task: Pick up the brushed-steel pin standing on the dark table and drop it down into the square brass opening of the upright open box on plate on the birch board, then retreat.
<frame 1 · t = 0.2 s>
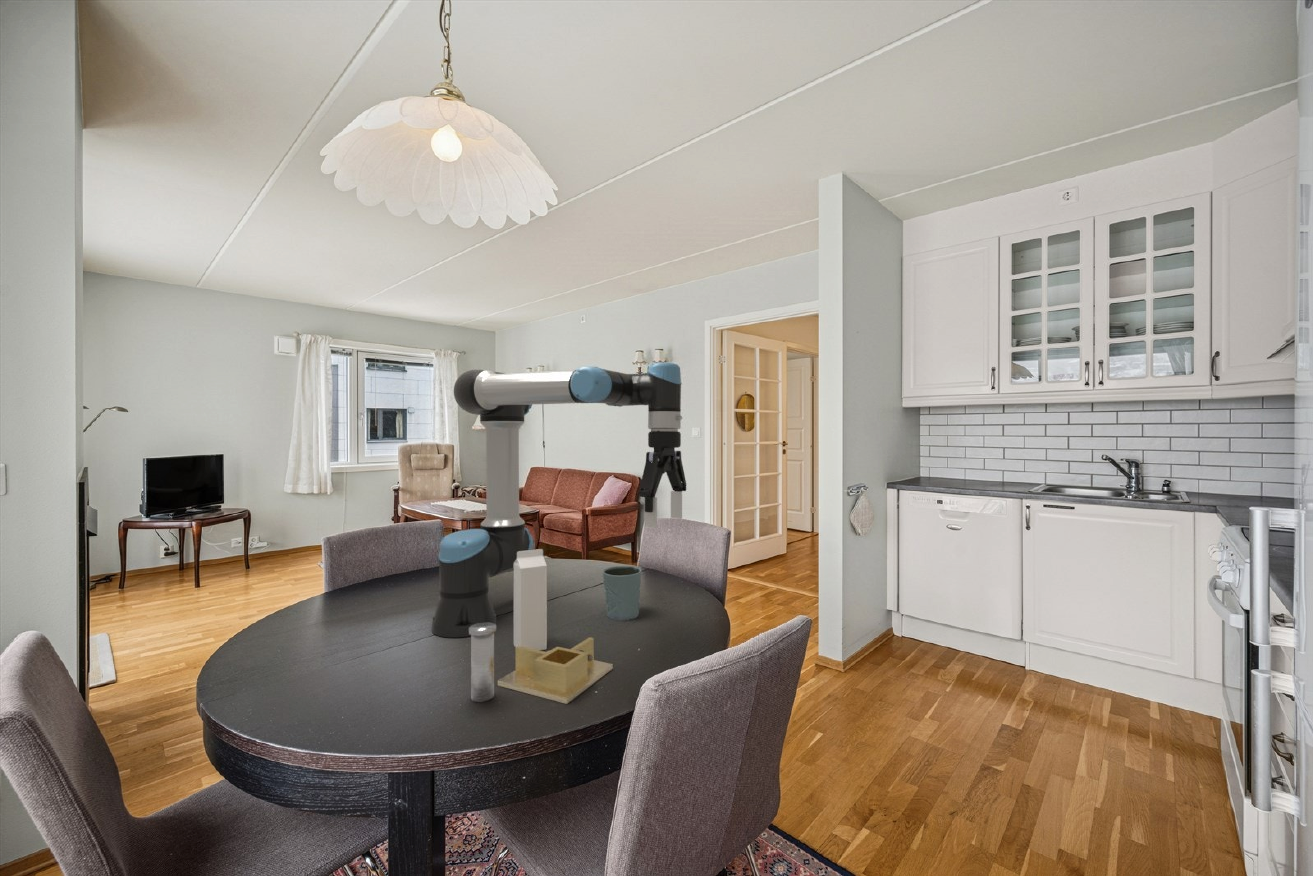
hand: (664, 522, 124), 28 cm above the table, fingers open, 13 cm apart
open box on plate: (561, 688, 102), on the table
pin: (482, 696, 99), on the table
teal cup: (622, 616, 143), on the table
milk: (530, 648, 122), on the table
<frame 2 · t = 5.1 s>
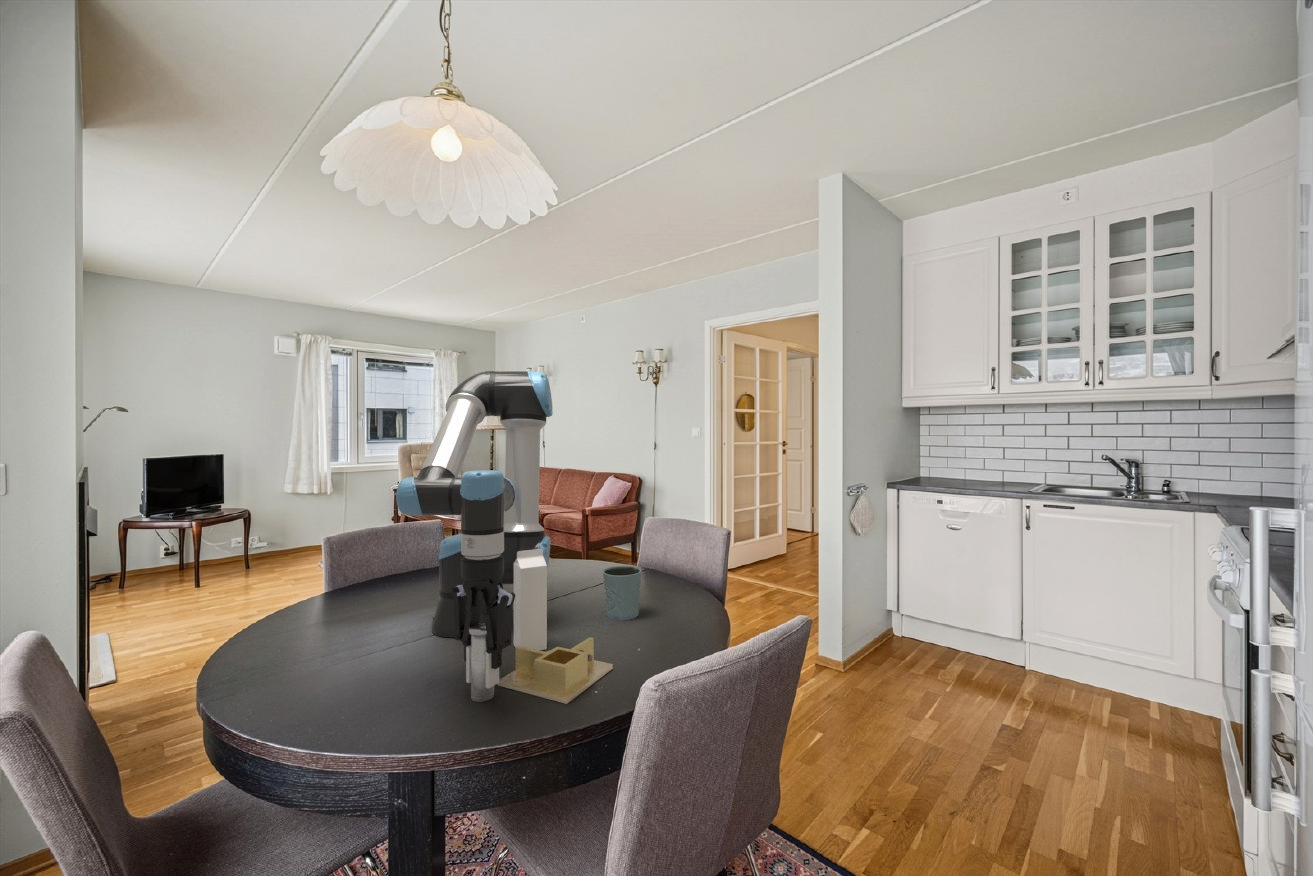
hand: (482, 682, 99), 3 cm above the table, fingers closed on pin, 4 cm apart
pin: (482, 696, 99), on the table, touching gripper
everything else where it was.
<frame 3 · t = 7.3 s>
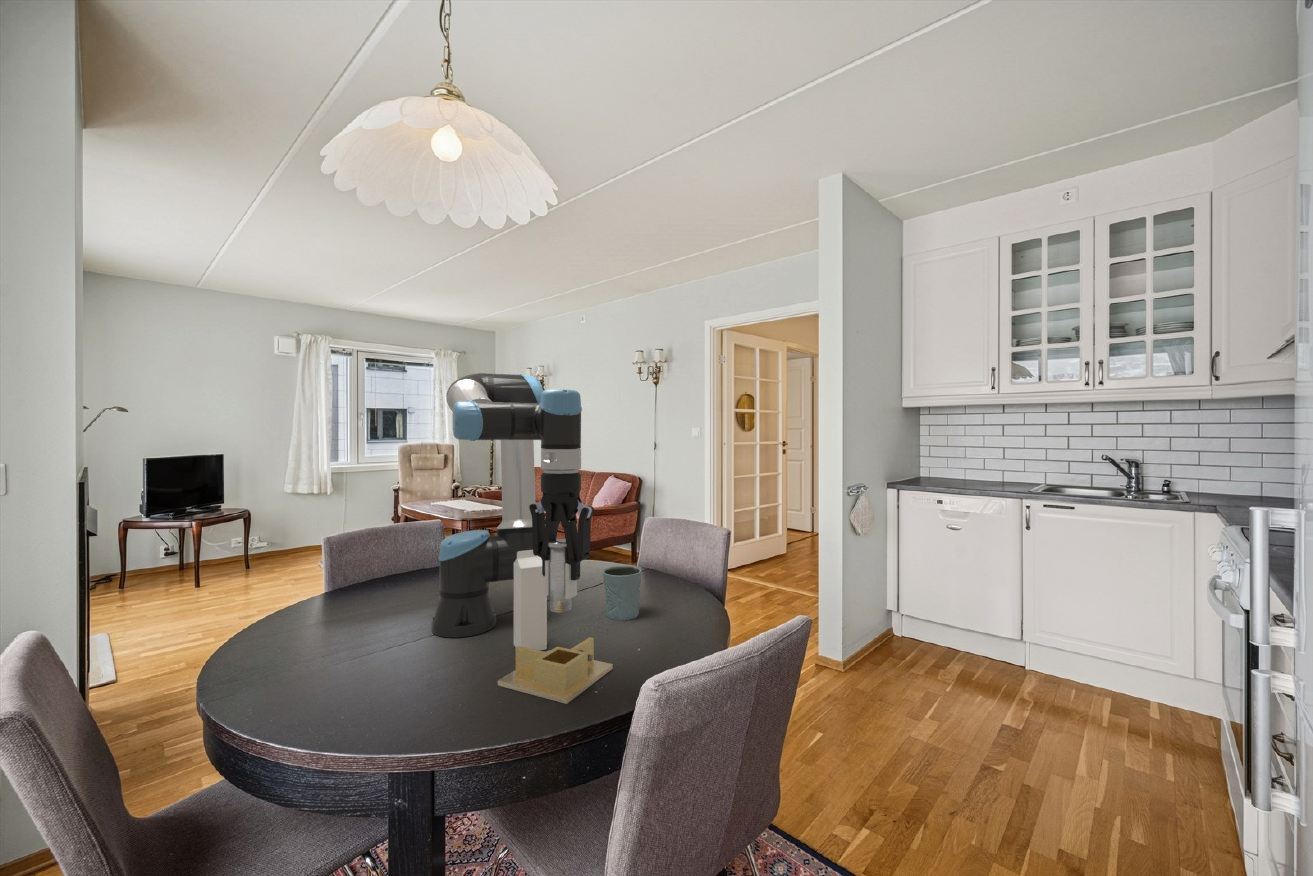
hand: (561, 595, 102), 18 cm above the table, fingers closed on pin, 4 cm apart
pin: (560, 609, 102), point 15 cm above the table, touching gripper
everything else where it was.
when the fingers open (7 cm above the table, at t = 9.5 s): pin drops 2 cm, resting on open box on plate.
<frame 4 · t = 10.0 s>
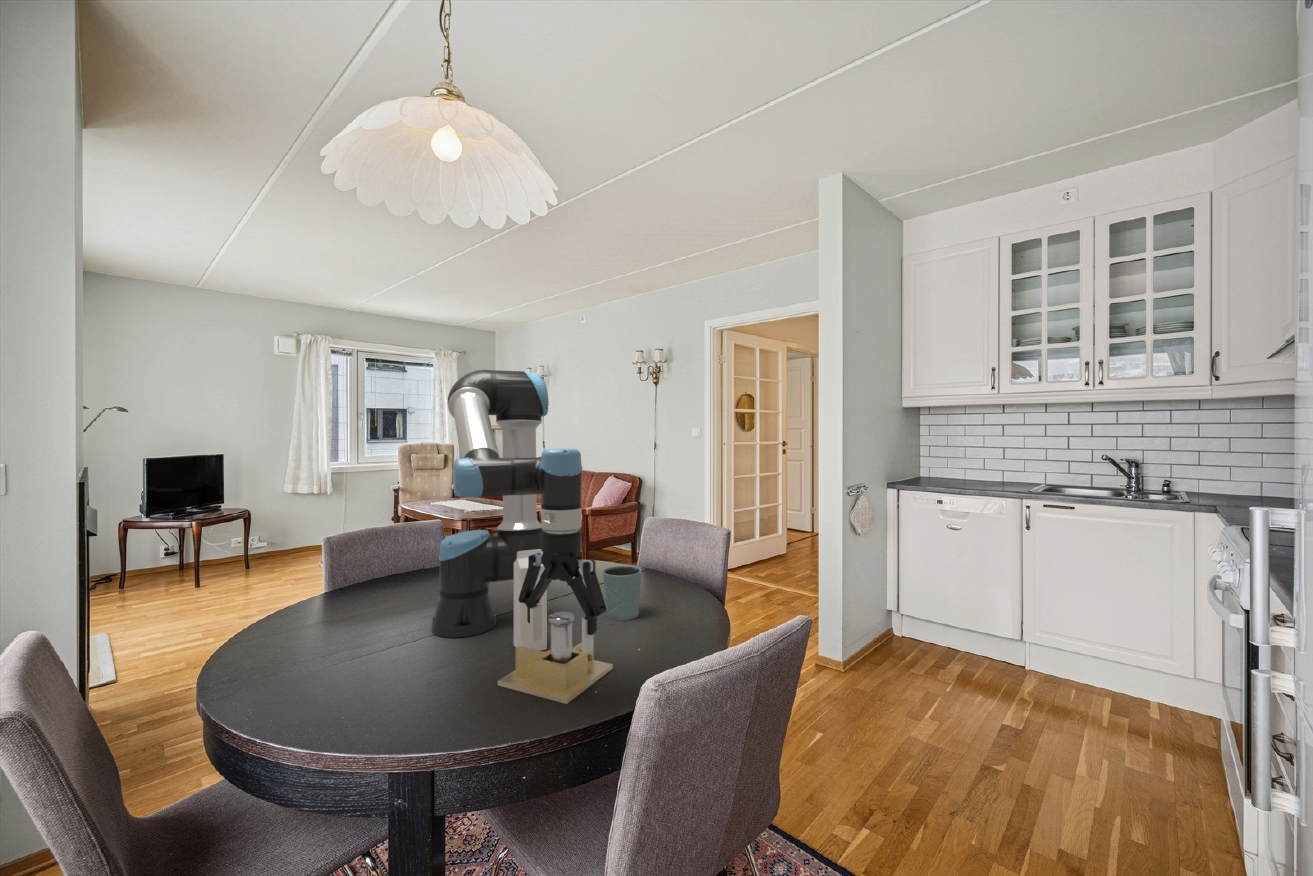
hand: (561, 645, 102), 8 cm above the table, fingers open, 11 cm apart
pin: (561, 683, 102), point 1 cm above the table, touching open box on plate
everything else where it was.
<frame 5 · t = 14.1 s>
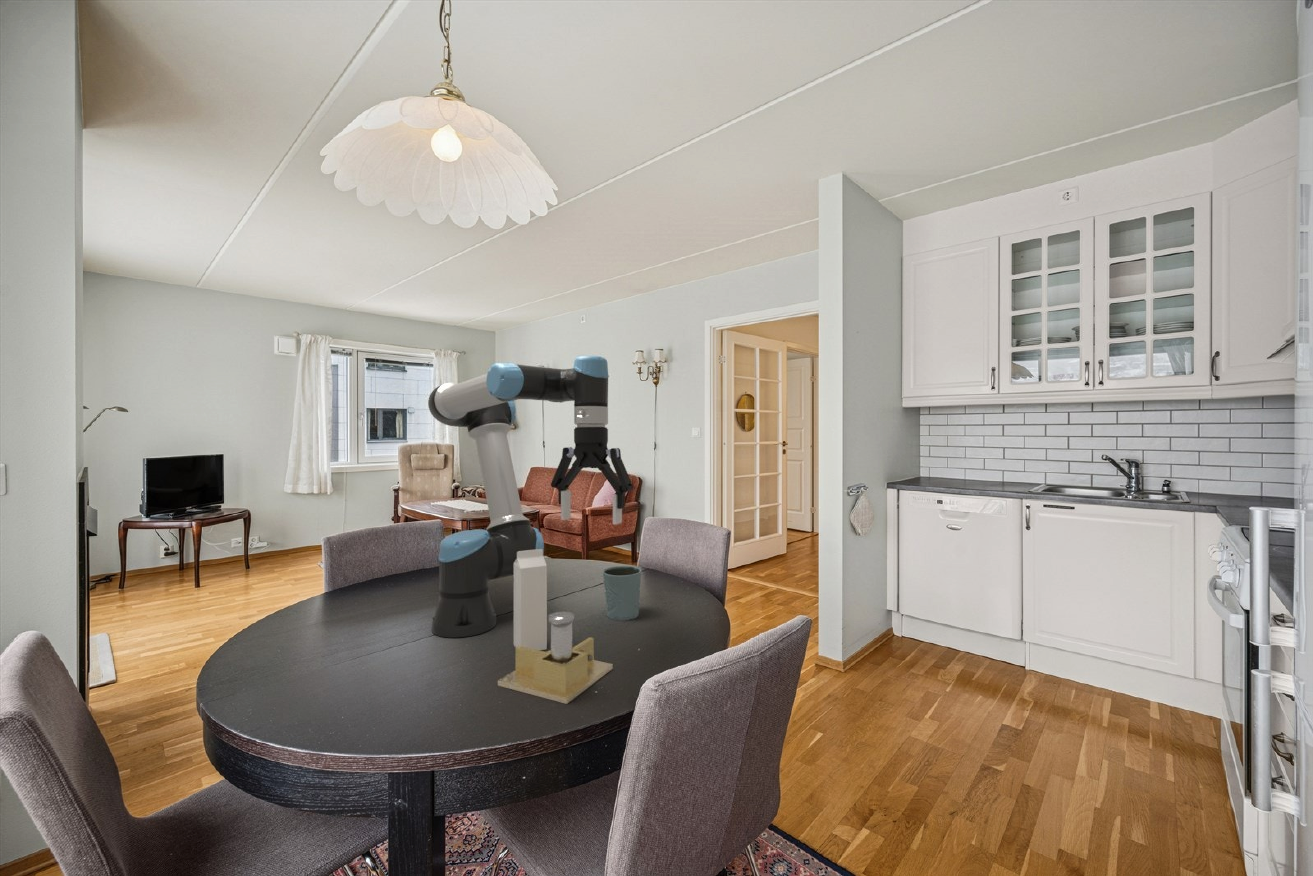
hand: (590, 521, 120), 29 cm above the table, fingers open, 13 cm apart
nothing on the table moved.
at the end: pin 0.2 cm off-centre on the open box on plate, point 1.0 cm above the open box on plate's base; pin tilted 0°; the gripper is holding nothing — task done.
